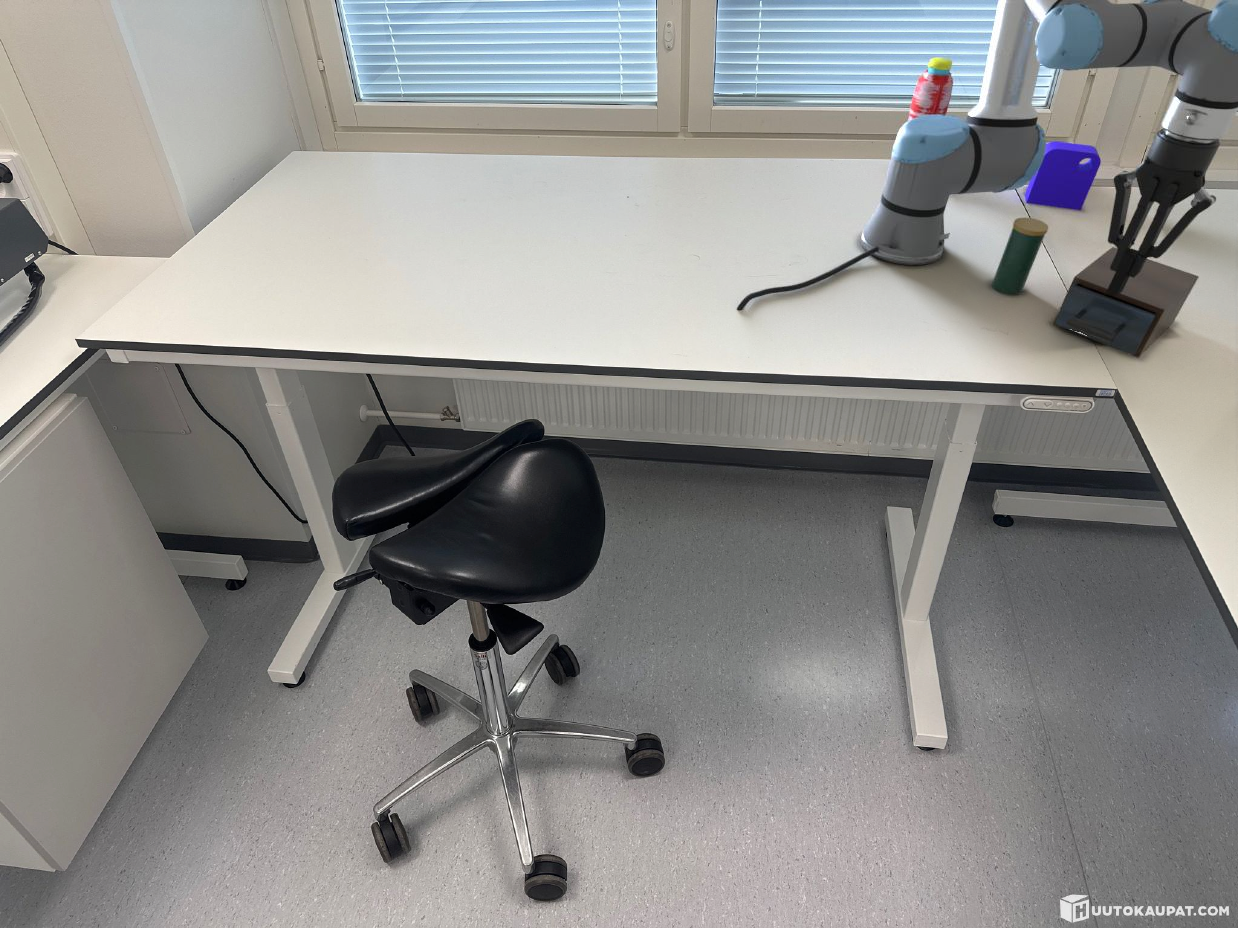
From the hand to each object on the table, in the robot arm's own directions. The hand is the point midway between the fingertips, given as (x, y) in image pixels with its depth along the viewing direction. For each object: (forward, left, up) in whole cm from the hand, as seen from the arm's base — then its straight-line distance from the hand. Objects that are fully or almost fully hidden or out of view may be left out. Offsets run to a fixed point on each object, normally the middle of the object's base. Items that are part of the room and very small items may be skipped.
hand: (1114, 292), depth 122 cm
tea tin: (-1, +21, -10) cm, 23 cm away
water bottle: (+5, +70, -11) cm, 71 cm away
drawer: (+5, +4, -9) cm, 11 cm away
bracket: (+33, +58, -11) cm, 68 cm away
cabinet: (+10, +6, -10) cm, 16 cm away
